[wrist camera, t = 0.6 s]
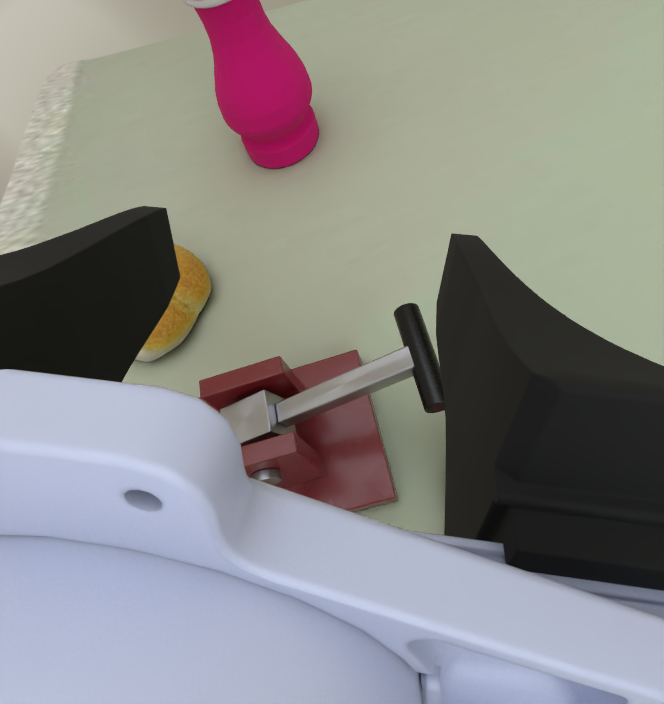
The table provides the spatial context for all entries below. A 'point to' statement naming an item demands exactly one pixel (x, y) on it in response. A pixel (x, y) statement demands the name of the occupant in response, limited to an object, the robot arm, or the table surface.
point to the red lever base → (312, 436)
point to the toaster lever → (345, 386)
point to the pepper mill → (259, 82)
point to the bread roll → (179, 307)
